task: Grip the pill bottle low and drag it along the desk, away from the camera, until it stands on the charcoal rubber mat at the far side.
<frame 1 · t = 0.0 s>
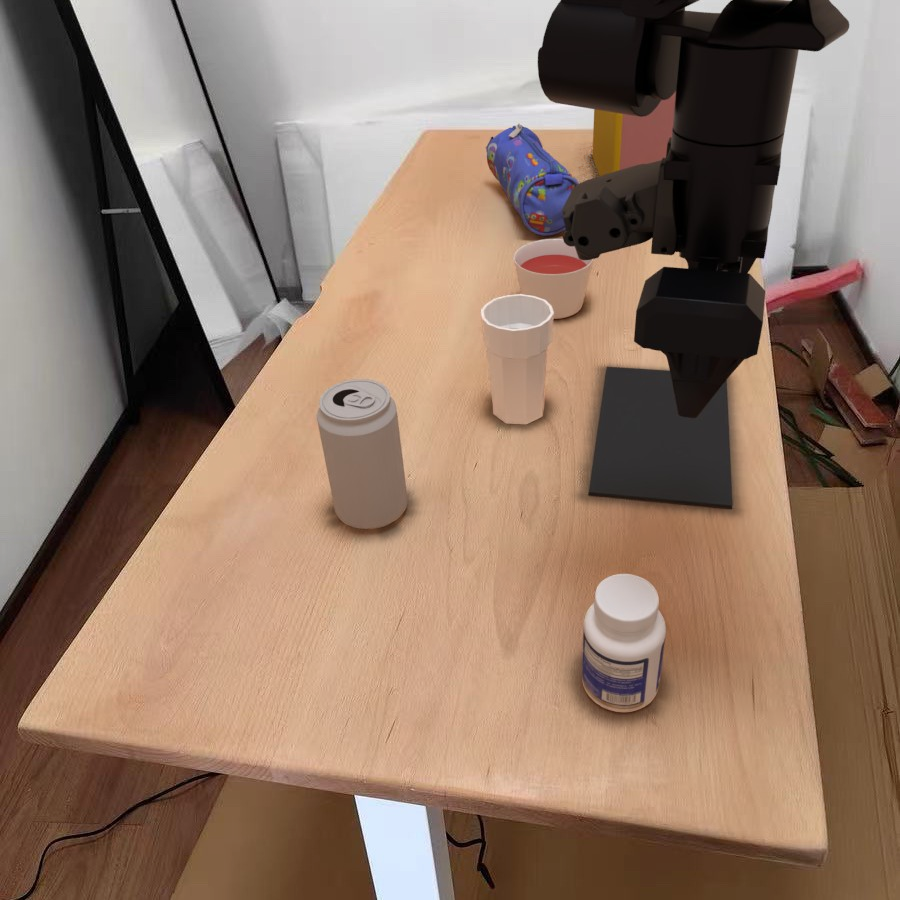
hand: (694, 374, 55), 19 cm above the table, tool pointing down, fingers open, 9 cm apart
beverage can: (372, 511, 76), on the table
candle: (553, 307, 102), on the table
pencil case: (532, 209, 124), on the table
mat: (662, 431, 81), on the table
cup: (518, 410, 86), on the table
lunch box: (630, 179, 130), on the table
pill bottle: (619, 684, 60), on the table
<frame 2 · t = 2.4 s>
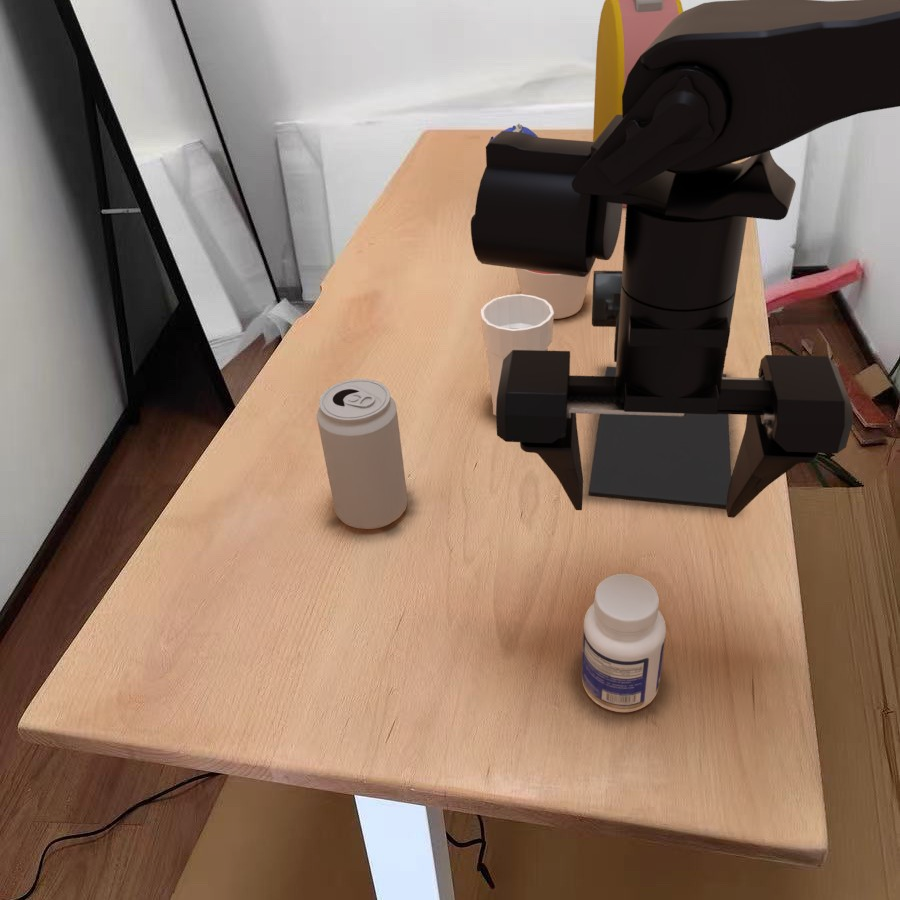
hand: (653, 509, 54), 13 cm above the table, tool pointing down, fingers open, 9 cm apart
nothing on the table moved.
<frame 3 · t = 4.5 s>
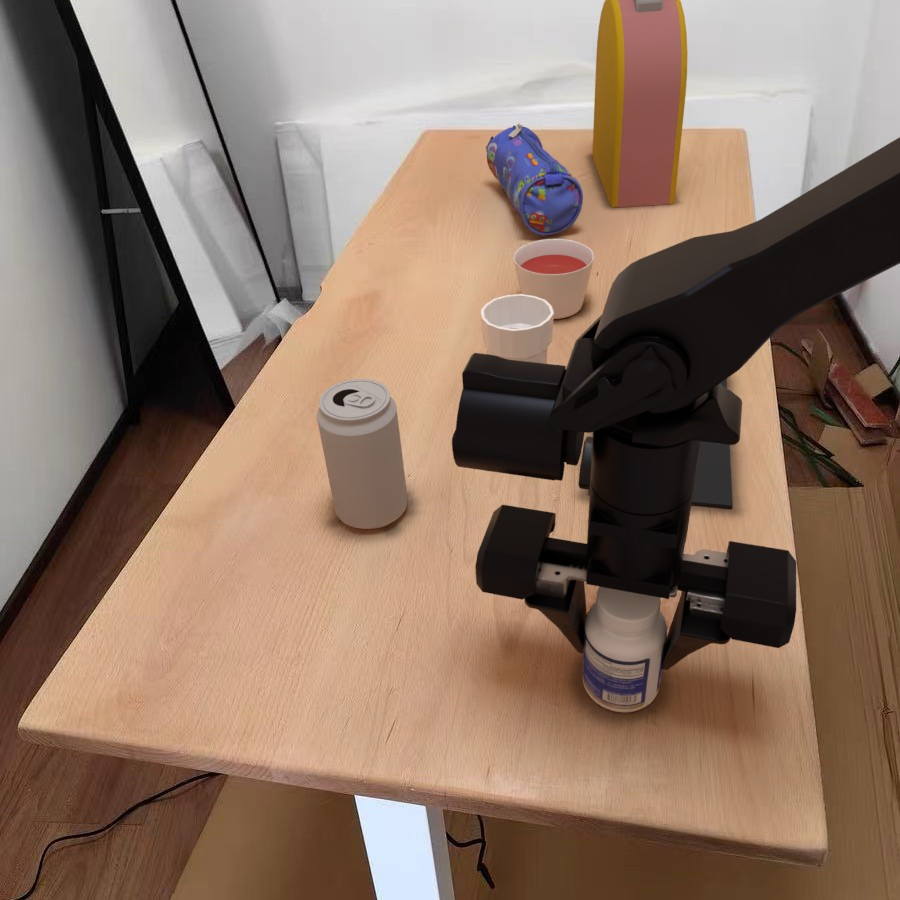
hand: (623, 656, 58), 3 cm above the table, tool pointing down, fingers closed on pill bottle, 5 cm apart
pill bottle: (619, 684, 60), on the table, touching gripper
everything else where it was.
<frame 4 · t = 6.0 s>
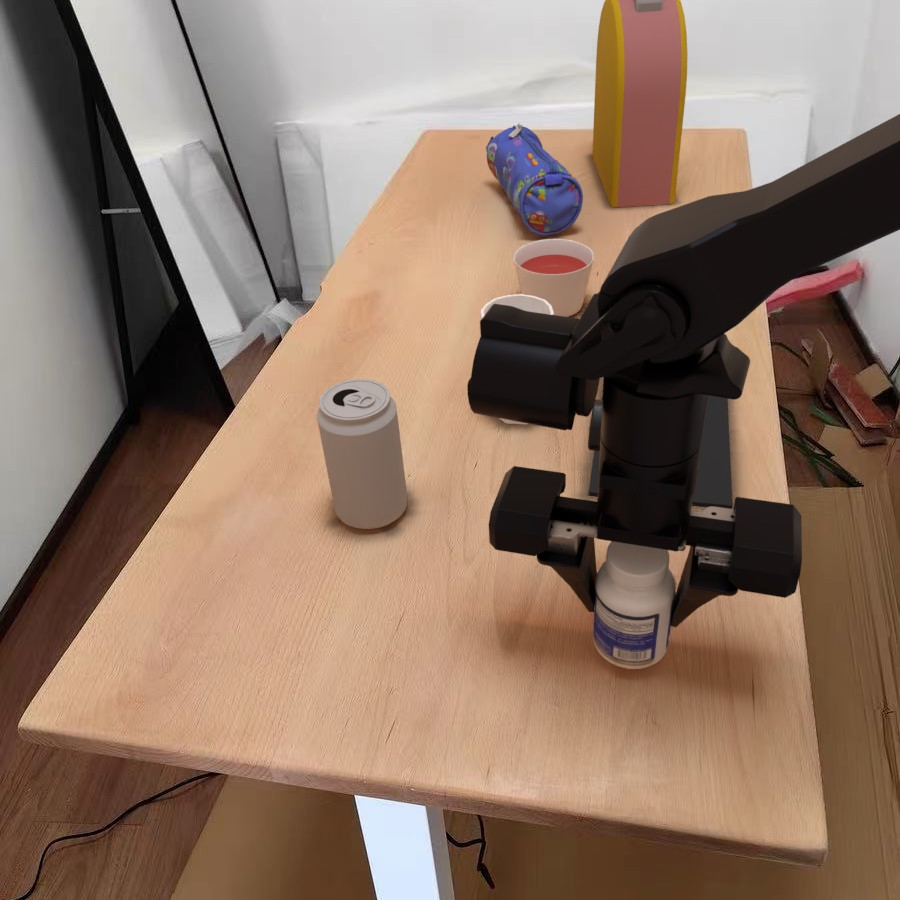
hand: (633, 614, 60), 4 cm above the table, tool pointing down, fingers closed on pill bottle, 5 cm apart
pill bottle: (629, 643, 61), point 1 cm above the table, touching gripper
everything else where it was.
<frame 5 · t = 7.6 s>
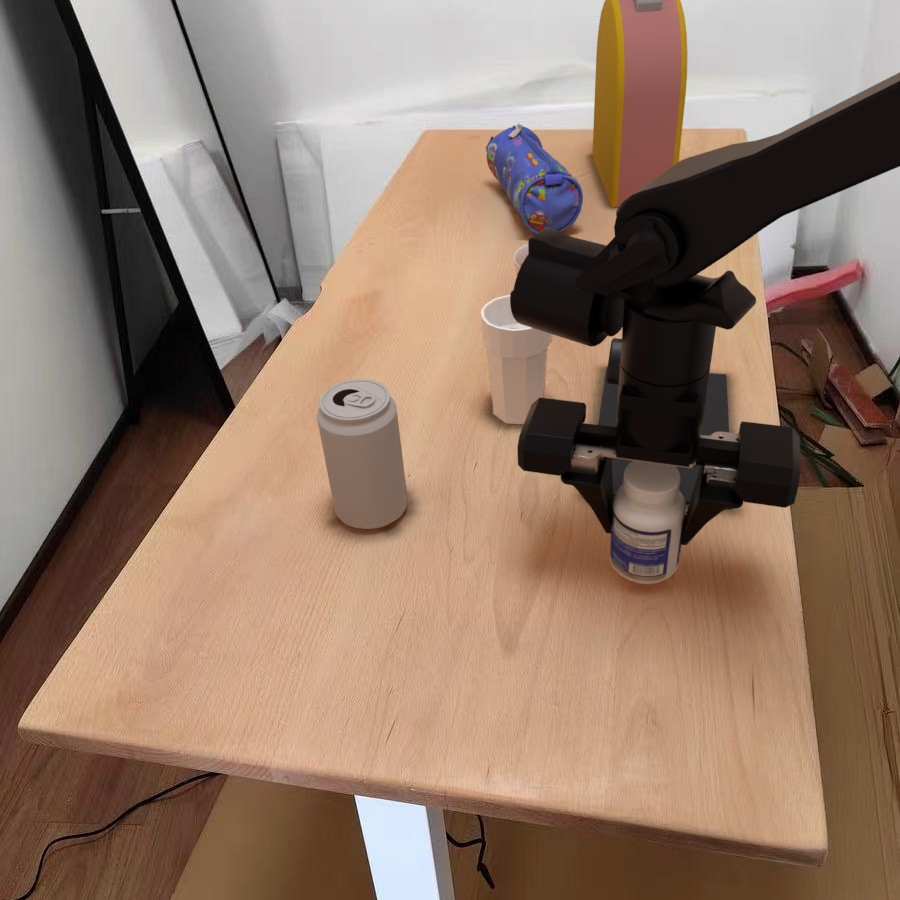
hand: (646, 535, 66), 4 cm above the table, tool pointing down, fingers closed on pill bottle, 5 cm apart
pill bottle: (643, 563, 67), point 1 cm above the table, touching gripper
everything else where it was.
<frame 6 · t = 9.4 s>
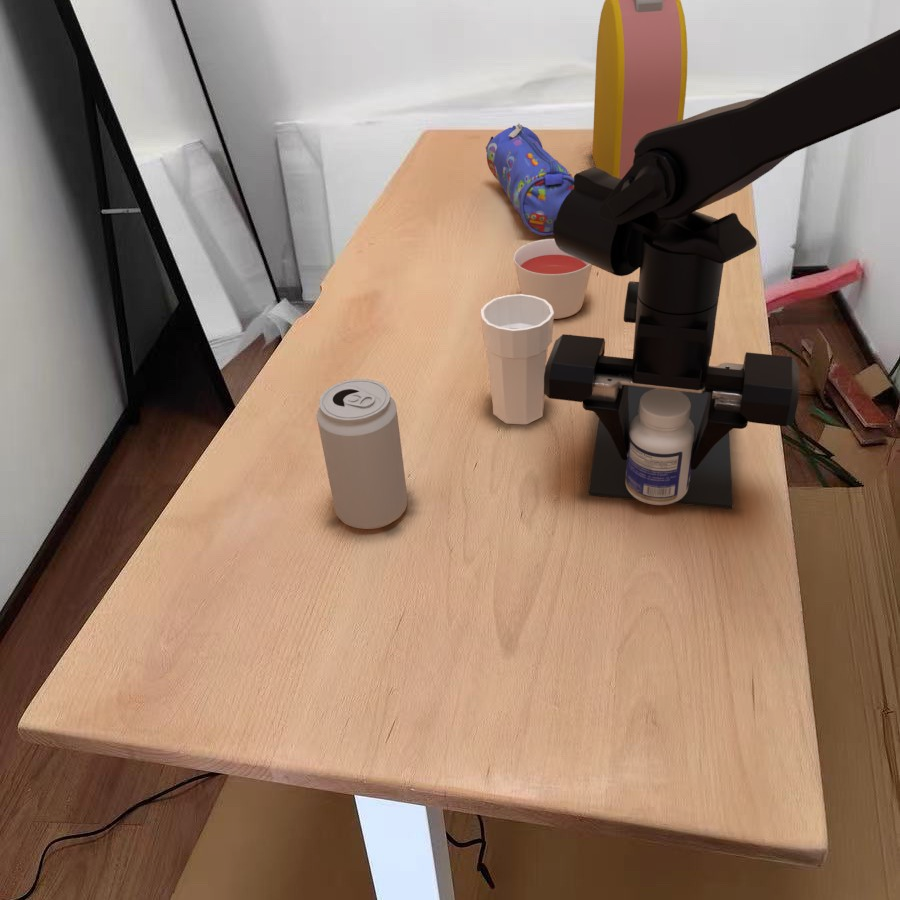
hand: (659, 461, 72), 4 cm above the table, tool pointing down, fingers closed on pill bottle, 5 cm apart
pill bottle: (655, 488, 74), point 1 cm above the table, touching gripper
everything else where it was.
when the fingers open (3 cm above the table, at t = 10.6 s): pill bottle stays where it is, resting on mat.
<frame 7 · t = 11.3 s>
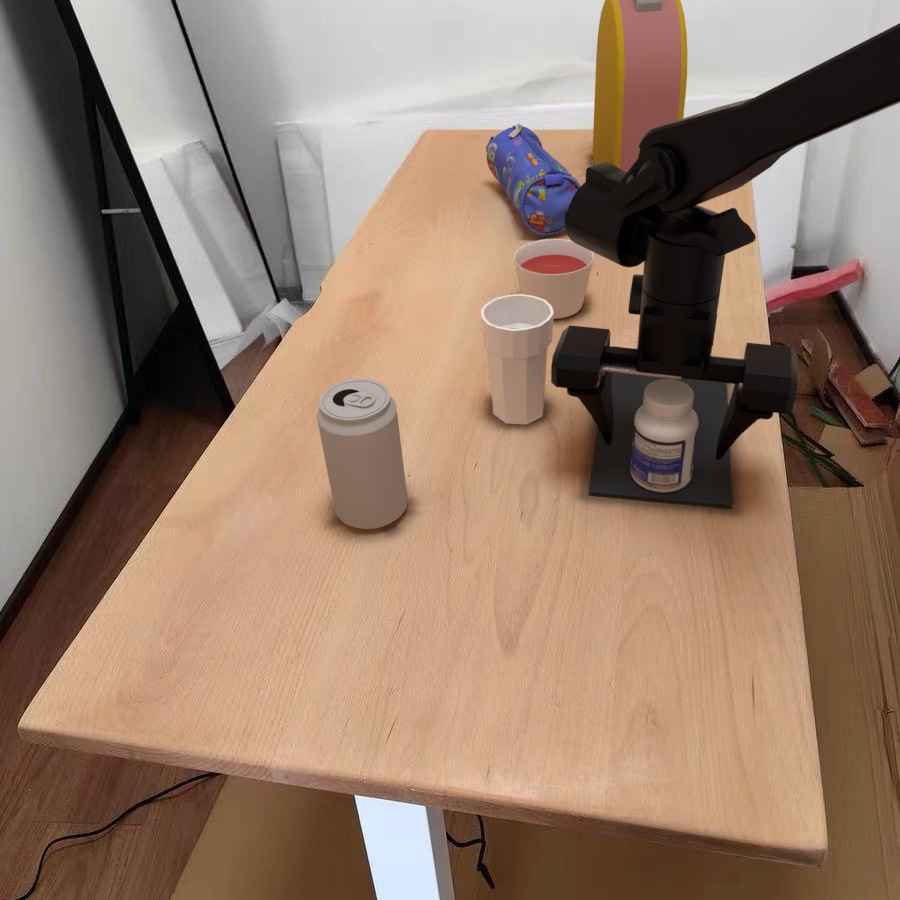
hand: (662, 449, 75), 3 cm above the table, tool pointing down, fingers open, 9 cm apart
pill bottle: (660, 476, 76), resting on mat
everything else where it was.
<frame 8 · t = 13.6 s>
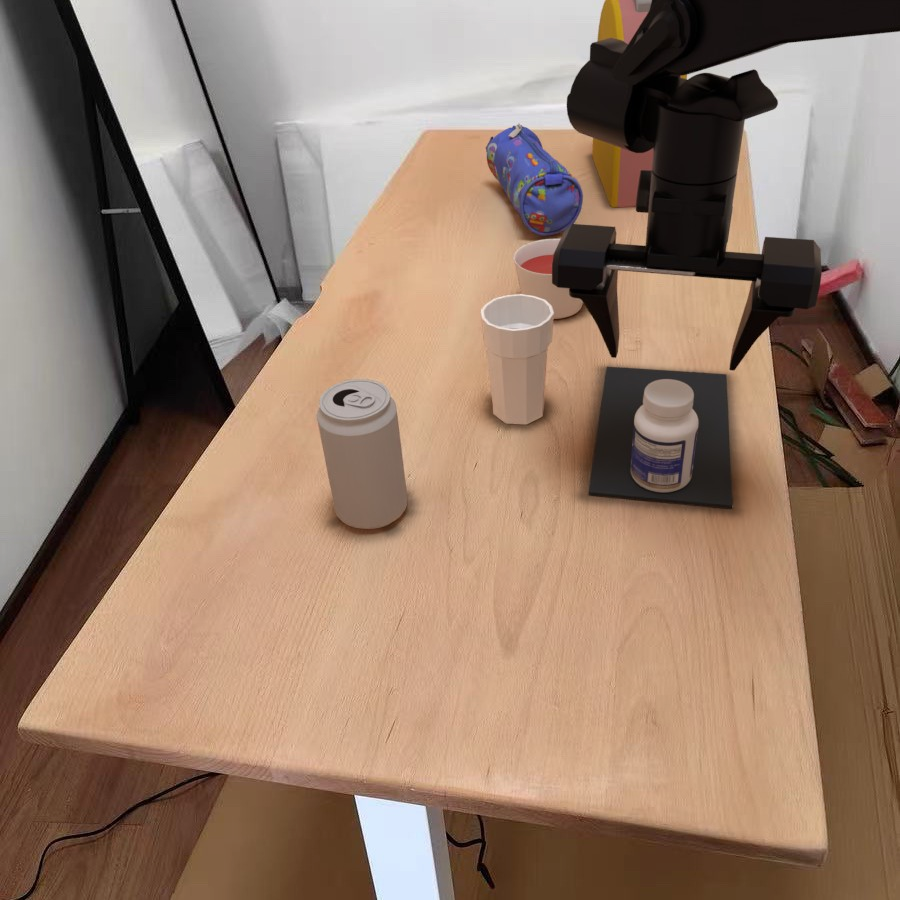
hand: (672, 361, 69), 12 cm above the table, tool pointing down, fingers open, 9 cm apart
nothing on the table moved.
at the end: pill bottle inside the target area on the mat (6.9 cm from its centre), point 0.2 cm above the mat's base; pill bottle tilted 0°; the gripper is holding nothing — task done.
